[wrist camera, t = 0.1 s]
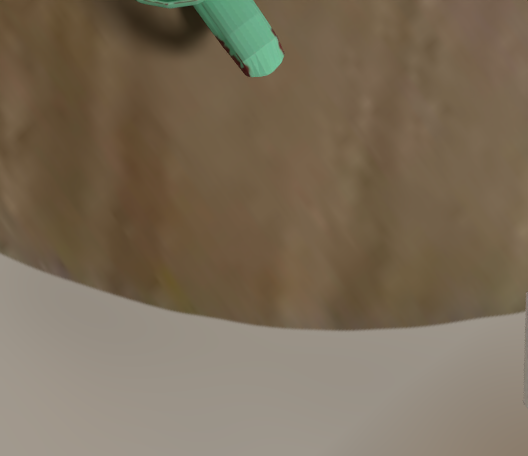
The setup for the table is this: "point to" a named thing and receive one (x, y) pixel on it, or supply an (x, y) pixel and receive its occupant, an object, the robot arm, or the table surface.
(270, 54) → the mug
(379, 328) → the table surface
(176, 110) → the table surface
